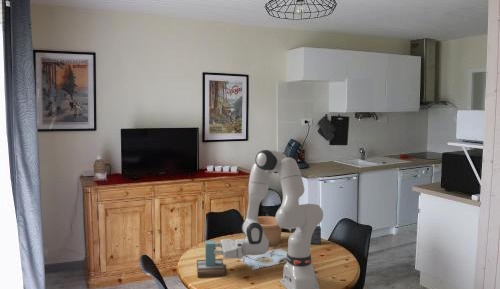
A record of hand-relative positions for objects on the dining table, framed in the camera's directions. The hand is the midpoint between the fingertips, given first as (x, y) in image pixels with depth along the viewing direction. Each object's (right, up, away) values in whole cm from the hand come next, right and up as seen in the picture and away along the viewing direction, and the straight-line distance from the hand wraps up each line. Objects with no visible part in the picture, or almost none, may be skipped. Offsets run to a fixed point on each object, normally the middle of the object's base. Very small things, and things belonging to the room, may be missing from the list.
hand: (213, 248), depth 215 cm
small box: (+60, -8, +46) cm, 76 cm away
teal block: (-2, -8, +1) cm, 9 cm away
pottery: (+31, -8, +47) cm, 56 cm away
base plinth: (-2, -12, +1) cm, 12 cm away
